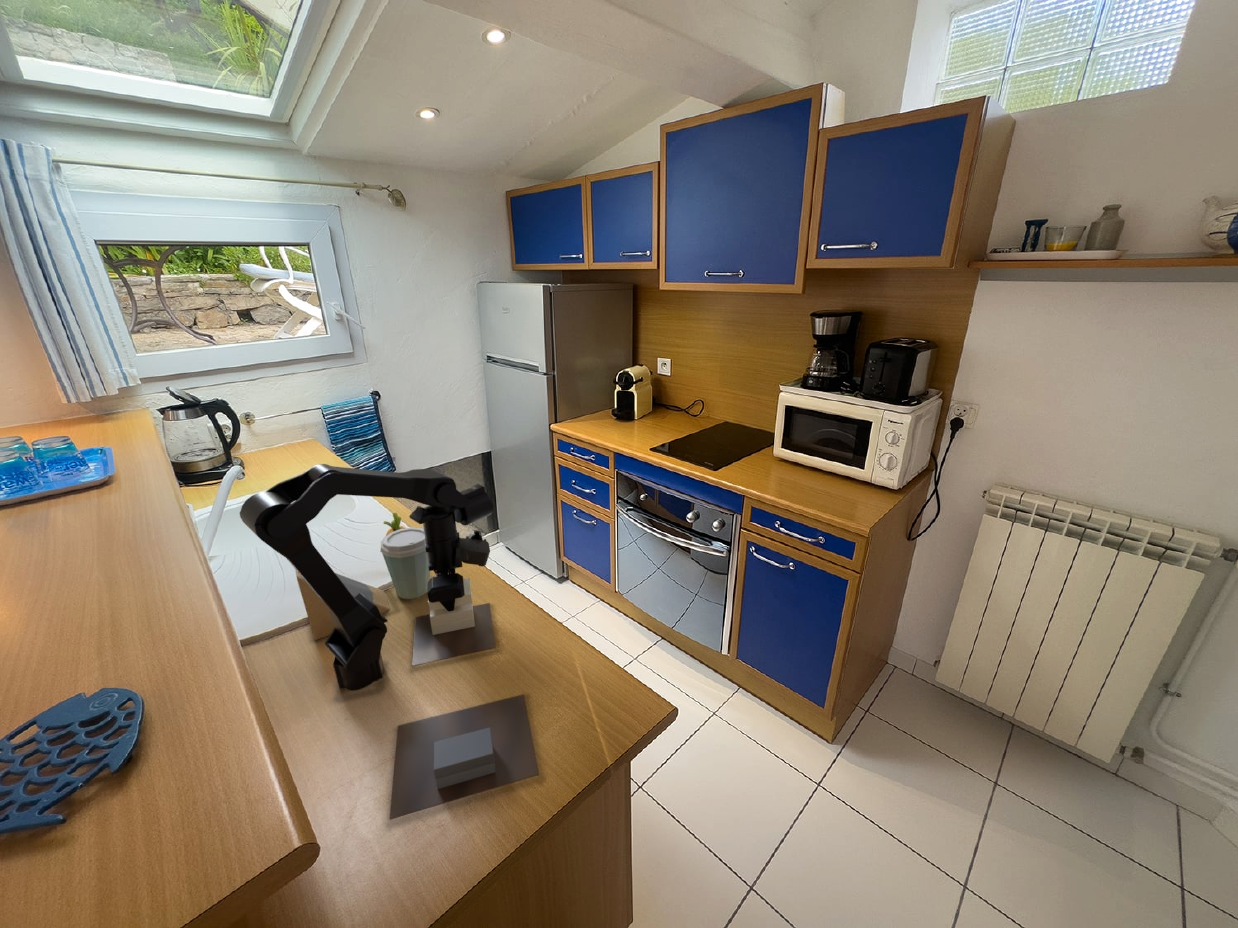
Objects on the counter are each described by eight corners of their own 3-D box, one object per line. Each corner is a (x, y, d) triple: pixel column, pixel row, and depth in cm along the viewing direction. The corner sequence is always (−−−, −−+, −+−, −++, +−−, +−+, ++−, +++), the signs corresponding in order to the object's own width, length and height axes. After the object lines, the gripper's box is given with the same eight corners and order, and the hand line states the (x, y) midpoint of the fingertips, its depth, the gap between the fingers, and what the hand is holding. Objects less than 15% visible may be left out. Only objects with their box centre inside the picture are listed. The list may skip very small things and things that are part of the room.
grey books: (437, 789, 69) (433, 770, 67) (437, 760, 73) (433, 741, 71) (495, 772, 71) (493, 753, 70) (492, 745, 75) (490, 726, 74)
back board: (412, 670, 90) (411, 665, 90) (415, 620, 102) (415, 616, 102) (496, 651, 95) (495, 647, 94) (489, 606, 107) (489, 602, 106)
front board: (390, 824, 66) (389, 819, 65) (398, 729, 79) (397, 725, 78) (539, 779, 72) (539, 774, 71) (524, 698, 85) (524, 693, 84)
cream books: (432, 635, 97) (429, 617, 95) (433, 617, 102) (430, 599, 100) (474, 626, 99) (472, 609, 98) (473, 609, 104) (471, 592, 103)
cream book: (429, 611, 95) (427, 601, 94) (429, 594, 100) (428, 585, 99) (472, 603, 97) (471, 593, 96) (470, 586, 102) (469, 577, 101)
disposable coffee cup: (383, 589, 112) (372, 532, 106) (431, 572, 118) (423, 517, 112) (397, 614, 104) (385, 554, 98) (447, 595, 110) (439, 537, 104)
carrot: (407, 577, 116) (397, 521, 110) (388, 574, 117) (377, 519, 111) (419, 565, 121) (410, 511, 115) (400, 562, 121) (391, 509, 116)
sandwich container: (397, 611, 105) (385, 551, 99) (314, 641, 96) (296, 577, 91) (387, 591, 111) (375, 533, 105) (309, 617, 103) (292, 556, 97)
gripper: (489, 553, 87) (496, 623, 93) (481, 506, 103) (487, 568, 109) (422, 564, 84) (433, 636, 90) (424, 513, 100) (434, 577, 106)
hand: (450, 601), depth 99 cm, fingers closed on cream book, 5 cm apart
